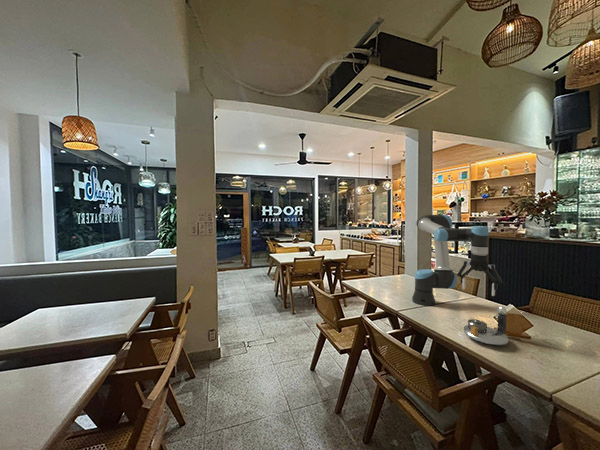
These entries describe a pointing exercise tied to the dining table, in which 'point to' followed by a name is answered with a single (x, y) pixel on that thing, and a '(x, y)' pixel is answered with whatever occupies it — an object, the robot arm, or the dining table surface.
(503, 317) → the indicator post
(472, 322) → the cover
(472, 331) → the platter
